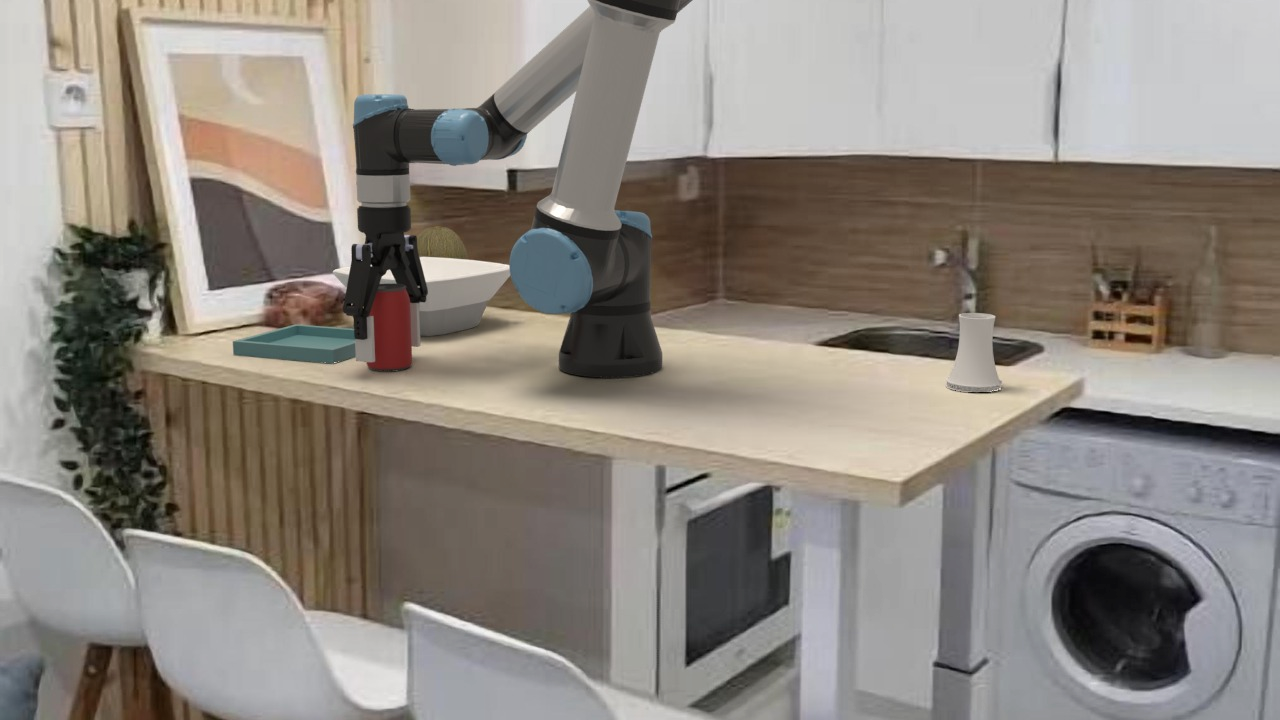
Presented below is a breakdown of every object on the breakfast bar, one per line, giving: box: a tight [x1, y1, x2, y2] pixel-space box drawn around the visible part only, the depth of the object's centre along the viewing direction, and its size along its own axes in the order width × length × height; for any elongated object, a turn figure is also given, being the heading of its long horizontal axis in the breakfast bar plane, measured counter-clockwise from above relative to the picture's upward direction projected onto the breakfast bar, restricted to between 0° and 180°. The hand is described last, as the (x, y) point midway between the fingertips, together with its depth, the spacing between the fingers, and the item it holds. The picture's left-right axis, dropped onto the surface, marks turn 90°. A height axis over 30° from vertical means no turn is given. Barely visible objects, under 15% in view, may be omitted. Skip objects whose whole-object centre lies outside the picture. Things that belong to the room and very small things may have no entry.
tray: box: [232, 323, 356, 364], centre depth 214 cm, size 18×16×2 cm
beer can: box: [365, 284, 413, 372], centre depth 200 cm, size 7×7×12 cm
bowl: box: [332, 257, 511, 337], centre depth 233 cm, size 24×25×10 cm
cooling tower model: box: [944, 312, 1003, 393], centre depth 188 cm, size 8×8×10 cm
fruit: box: [416, 225, 470, 260], centre depth 254 cm, size 11×11×15 cm
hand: (389, 353), depth 201 cm, fingers open, 12 cm apart
